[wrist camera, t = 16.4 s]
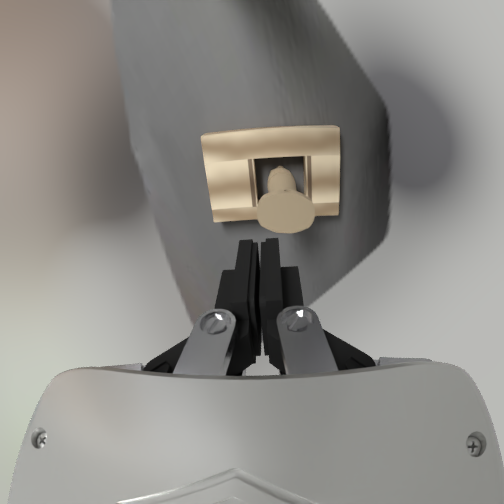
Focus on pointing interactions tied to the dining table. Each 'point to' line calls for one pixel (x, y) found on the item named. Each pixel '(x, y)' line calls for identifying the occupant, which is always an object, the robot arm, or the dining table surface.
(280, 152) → the board
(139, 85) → the dining table surface
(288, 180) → the handle
